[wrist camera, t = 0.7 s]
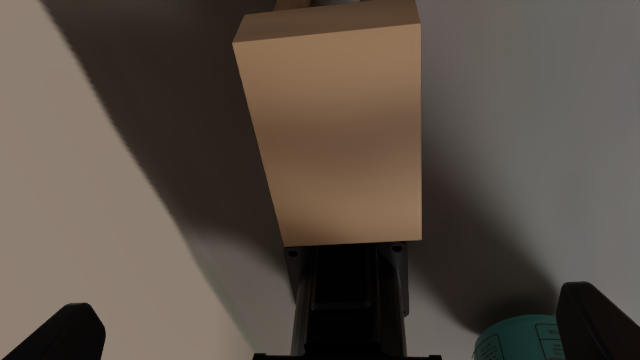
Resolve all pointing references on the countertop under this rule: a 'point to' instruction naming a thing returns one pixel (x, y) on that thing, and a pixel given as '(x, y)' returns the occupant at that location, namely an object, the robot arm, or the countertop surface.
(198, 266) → the countertop surface
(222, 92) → the countertop surface
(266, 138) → the block with dowel legs
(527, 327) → the beverage bottle
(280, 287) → the countertop surface
